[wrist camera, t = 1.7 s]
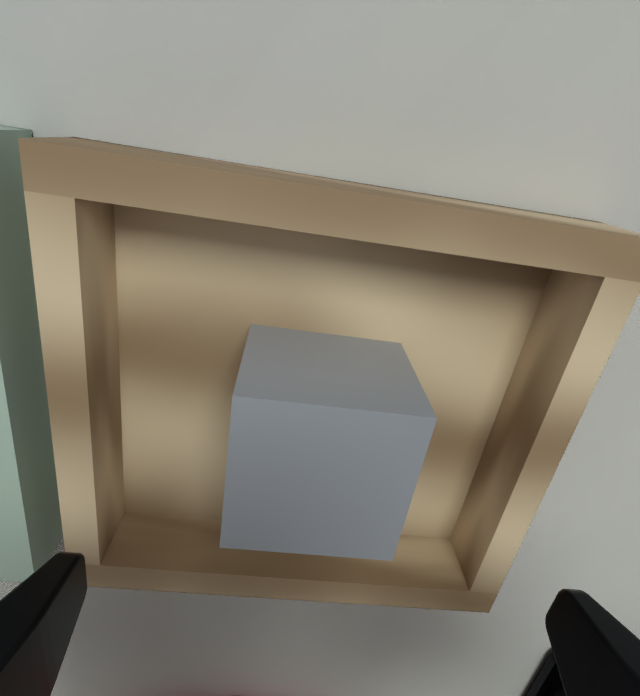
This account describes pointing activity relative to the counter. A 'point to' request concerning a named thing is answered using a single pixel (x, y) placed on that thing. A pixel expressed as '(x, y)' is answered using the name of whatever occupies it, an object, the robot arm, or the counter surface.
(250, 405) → the grey cube
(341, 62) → the counter surface
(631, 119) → the counter surface
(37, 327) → the green bin
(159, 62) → the counter surface
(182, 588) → the oak tray
